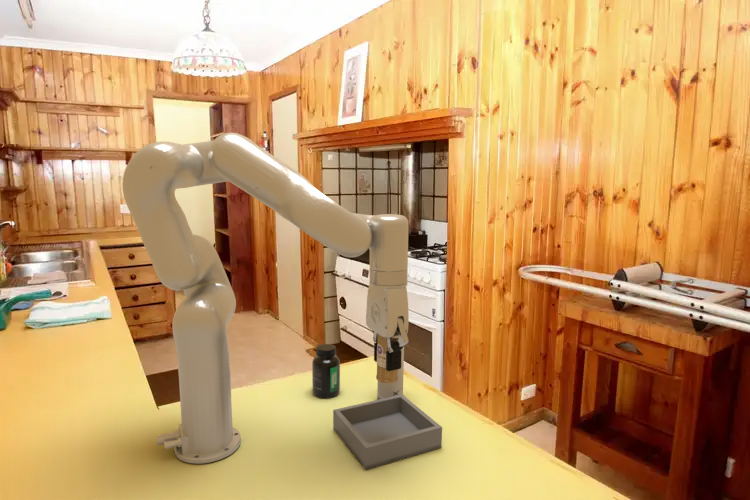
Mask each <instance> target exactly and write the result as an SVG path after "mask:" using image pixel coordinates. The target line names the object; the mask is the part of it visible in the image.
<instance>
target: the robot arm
mask: <svg viewBox="0 0 750 500" xmlns="http://www.w3.org/2000/svg"><path fill="white" fill-rule="evenodd" d="M225 182H226V183H227V182H229V183H231V184H232V185H234V186H235V187H237V188H239V189H240V190H242V191H243V192H245V193H247V194H248V195H250V196H251V197H253V198H254V199H256V200H258V201H259V202H260V203H261V204H263V205H265V207H266V206H267V207H268V208H270V209H271V210H272V211H274V212H275V213H277V215H279V216H281V217H282V218H283V219H285V220H286V221H288V222H290V223H292V224H293V226H294V225H295V226H296V227H297V228H298V229H300V230H301V231H303V233H305V234H307V235H308V236H310V237H311V238H312V239H314V240H315V241H318V243H320V244H321V245H324V246H325V247H326V248H328V249H330V250H332V251H333V252H334V253H336V254H338V255H341V256H342V257H346V258H356V257H360V256H362V255H363V254H365V253H366V252H367V251H368V250H369V282H368V290H367V296H366V308H365V309H366V311H365V313H366V314H365V323H366V324H365V325H366V327H368V328H369V329H370V330H371V331H372V334H373V335H372V339H373V343H374V344H373V349H374V351H373V361H374V362H375V363H377V342H378V341H377V340H378V334H379V335H380V336H382V337H383V338H385V339H387V343H388V351H386V370H387V371H393V370H397V369H401V356H402V350H403V347H404V348H405V345H407V344H408V343H409V337H408V334H409V333H408V331H409V323H410V322H409V321H410V320H409V319H410V318H409V299H408V298H409V297H408V290H407V286H408V274H409V273H408V270H409V269H408V267H409V265H408V264H409V263H408V262H409V259H408V258H409V220H408V218H407V217H406V216H405V215H402V214H397V213H396V214H394V213H386V214H385V213H384V214H383V213H382V214H381V213H380V214H376V215H374V214H373V215H371V214H364V213H363V214H362V213H358V212H357V213H356V212H351V211H349V210H348V209H346V208H345V207H343V206H341V205H340V204H338V203H337V202H336V201H334V200H333V199H331V198H329V196H327V195H325V194H324V193H323V192H321V191H320V190H319V189H318V188H316V187H315V186H314V185H313V184H312V183H311V182H310V181H309V179H307V178H306V177H305V176H304V175H303V174H301V173H300V172H298V170H296V169H294V168H293V167H291V166H290V165H289V164H287V163H284V162H283V161H282V160H280V159H279V158H277V157H276V156H274V155H272V154H271V153H269V152H268V151H267V150H266V149H264V148H262V147H261V146H259V145H258V144H256V142H254V141H253V140H252V139H251V138H249V137H247V136H245V135H243V134H240V133H237V132H225V133H222V134H220V135H219V136H217V137H216V138H215V139H214V140H208V141H201V142H193V143H184V144H181V143H176V142H170V141H155V142H152V143H149V144H147V145H144V146H143V147H142V148H140V149H138V151H137V152H135V153H134V154H133V156H132V157H131V158H130V159H129V161H128V163H127V165H126V166H125V168H124V172H123V177H122V193H123V198H124V200H125V203H126V204H125V205H126V206H127V209H128V212H129V213H130V215H131V217H132V220H133V222H134V224H135V226H136V229H137V231H138V233H139V236H140V239H141V242H142V245H144V248H145V250H146V252H147V255H148V257H149V260H150V261H151V264H152V267H153V269H154V272H155V274H156V276H157V278H158V280H159V282H160V283H161V284H162V285H163V286H165V287H166V288H168V289H169V290H172V291H182V292H183V294H184V296H185V297H184V299H183V300H182V301H181V302H180V303H179V305H178V306H177V308H176V310H175V312H174V314H173V318H172V336H173V339H174V344H175V350H176V356H177V371H178V383H179V399H180V400H179V402H180V417H181V418H180V419H181V423H179V424H178V429H174V430H173V432H169V433H163V434H159V435H158V434H157V435H156V444H157V445H156V446H157V447H159V446H164V450H169V449H172V448H174V450H173V451H174V454H175V457H176V458H177V459H179V460H180V461H182V462H185V463H187V464H194V465H195V464H198V465H199V464H201V465H202V464H208V463H213V462H216V461H220V460H222V459H225V458H227V457H229V456H230V455H232V454H233V453H234V452H235V451H237V449H239V447H240V445H241V441H242V440H241V439H242V438H241V437H242V435H241V433H240V431H239V430H238V429H236V428H234V427H233V408H232V407H233V406H232V403H233V402H232V383H231V381H232V380H231V362H230V361H231V358H230V349H229V341H228V325H229V324H230V322H231V319H233V317H234V314H235V312H236V308H237V299H236V296H235V292H234V290H233V287H232V285H231V283H230V281H229V277H228V276H227V273H226V270H225V268H224V266H223V262H222V261H221V258H220V256H219V254H218V252H217V250H216V248H215V246H214V245H213V244H212V243H211V242H210V241H209V240H208V239H207V238H205V237H203V236H201V235H198V234H193V232H192V229H191V227H190V224H189V222H188V219H187V216H186V215H185V213H184V211H183V209H182V207H181V205H180V204H179V202H178V200H177V199H176V194H175V192H176V190H179V189H185V188H186V189H187V188H193V187H199V186H205V185H206V186H207V185H214V184H218V183H225ZM395 332H397V335H394V334H395ZM392 339H397V341H395V342H394V343H393V342H392Z"/></svg>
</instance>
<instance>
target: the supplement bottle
mask: <svg viewBox="0 0 750 500" xmlns="http://www.w3.org/2000/svg"><path fill="white" fill-rule="evenodd" d="M315 349H316V352H315V355H316V356H315V357H314V358H313V359H312V364H311V366H312V367H311V370H312V371H311V373H312V374H311V375H312V376H311V377H312V379H311V380H312V381H311V382H312V394H313V396H315V397H317V398H320V399H332V398H334V397H336V396H338V395H339V394H340V391H341V361H340V358H339V357H338V355H337V347H336V345H335V344H332V343H331V344H330V343H322V344H319V345H317V346H316V348H315Z"/></svg>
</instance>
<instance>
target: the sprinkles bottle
mask: <svg viewBox="0 0 750 500" xmlns="http://www.w3.org/2000/svg"><path fill="white" fill-rule="evenodd" d="M394 335H397V332H395V334H394ZM377 341H378V342H377V362H376V376H375V377H376V381H377V382H378V381H379V382H382V383H393V382H395V381H397V380H398V369H397V370H393V371H387V370H386V351H388V343H387V339H385V338H383V337H382V336H380V335H379V334H378V340H377ZM395 341H397V339H392V342H393V343H394V342H395Z"/></svg>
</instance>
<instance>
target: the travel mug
mask: <svg viewBox="0 0 750 500" xmlns="http://www.w3.org/2000/svg"><path fill="white" fill-rule="evenodd" d="M404 361H405V346H404V347H403V350H402V356H401V369H398V380H397V381H395V382H393V383H382V382H379V381H378V380H377V400H379V399H384V398H388V397H392V396H397V395H401V394H402V395H404V370H405V369H404V364H405V362H404Z"/></svg>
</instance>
